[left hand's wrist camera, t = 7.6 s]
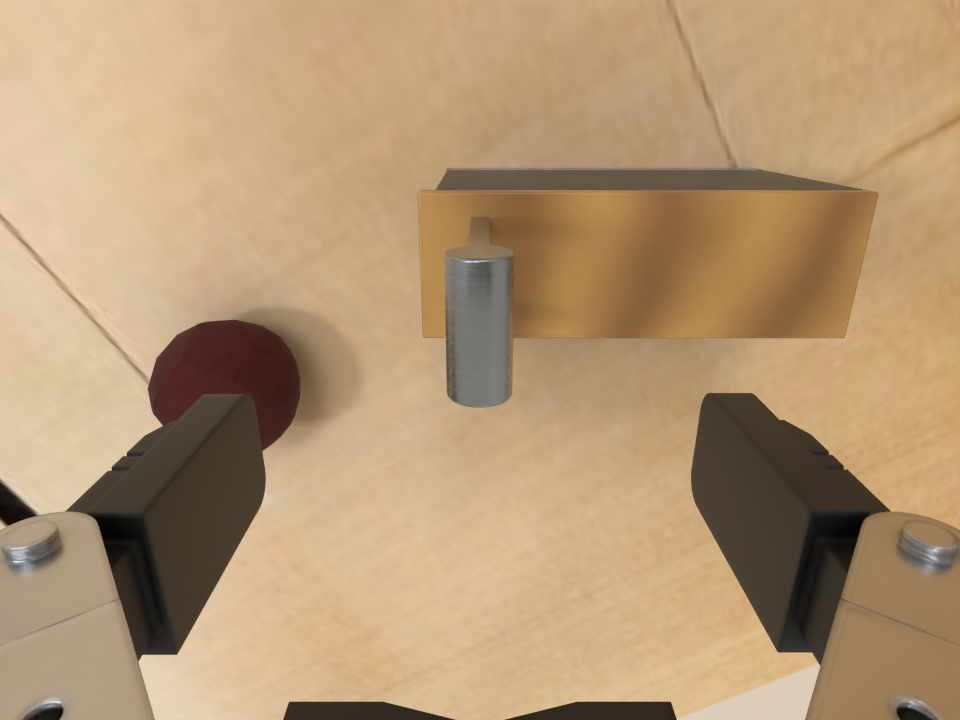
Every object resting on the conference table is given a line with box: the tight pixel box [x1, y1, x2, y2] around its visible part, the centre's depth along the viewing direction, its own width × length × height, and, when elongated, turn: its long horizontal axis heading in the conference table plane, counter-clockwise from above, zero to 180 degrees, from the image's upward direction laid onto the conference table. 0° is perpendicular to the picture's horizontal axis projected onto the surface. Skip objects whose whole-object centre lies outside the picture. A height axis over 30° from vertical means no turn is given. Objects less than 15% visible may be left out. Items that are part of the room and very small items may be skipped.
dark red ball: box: [148, 320, 300, 451], centre depth 33 cm, size 7×8×7 cm
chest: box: [436, 168, 862, 190], centre depth 29 cm, size 16×6×10 cm, turn 90°
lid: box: [418, 190, 878, 407], centre depth 20 cm, size 17×6×9 cm, turn 90°
